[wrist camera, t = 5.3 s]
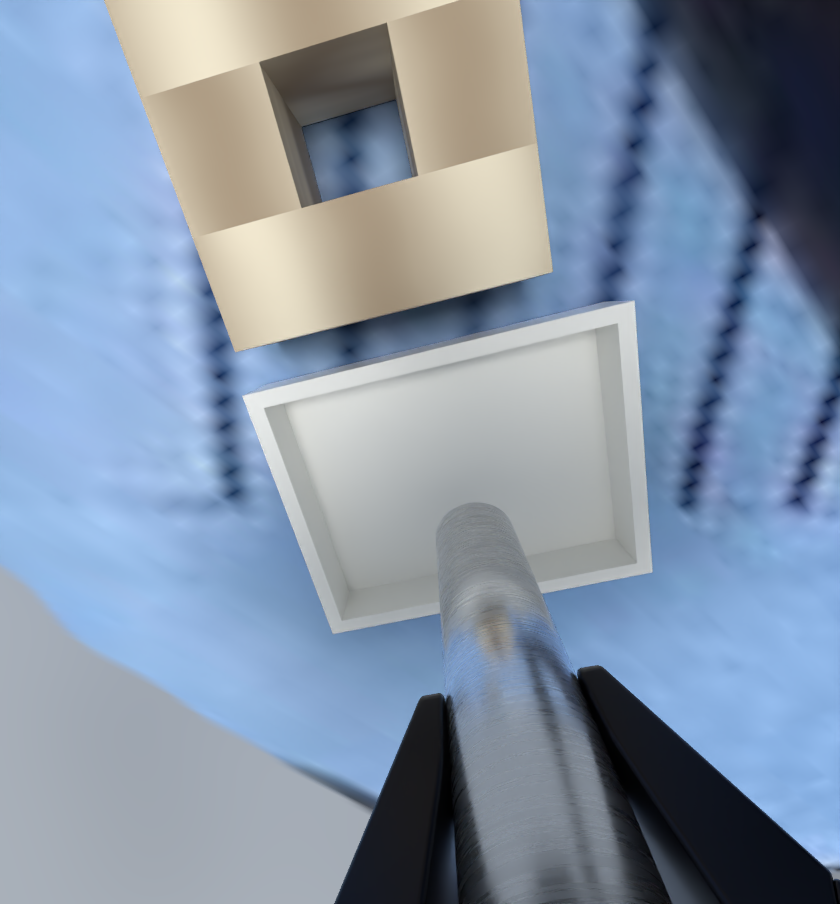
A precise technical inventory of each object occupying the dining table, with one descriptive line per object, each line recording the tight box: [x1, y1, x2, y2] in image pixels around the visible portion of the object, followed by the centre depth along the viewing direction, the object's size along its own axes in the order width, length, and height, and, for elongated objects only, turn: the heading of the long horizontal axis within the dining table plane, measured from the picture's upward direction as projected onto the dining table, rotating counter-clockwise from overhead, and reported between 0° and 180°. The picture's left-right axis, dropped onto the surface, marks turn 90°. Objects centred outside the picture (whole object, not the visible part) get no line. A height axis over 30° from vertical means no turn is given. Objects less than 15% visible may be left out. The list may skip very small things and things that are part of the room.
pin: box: [436, 502, 672, 904], centre depth 8 cm, size 3×3×11 cm
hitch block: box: [104, 0, 553, 352], centre depth 13 cm, size 10×10×4 cm
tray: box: [243, 301, 652, 634], centre depth 17 cm, size 14×11×2 cm
